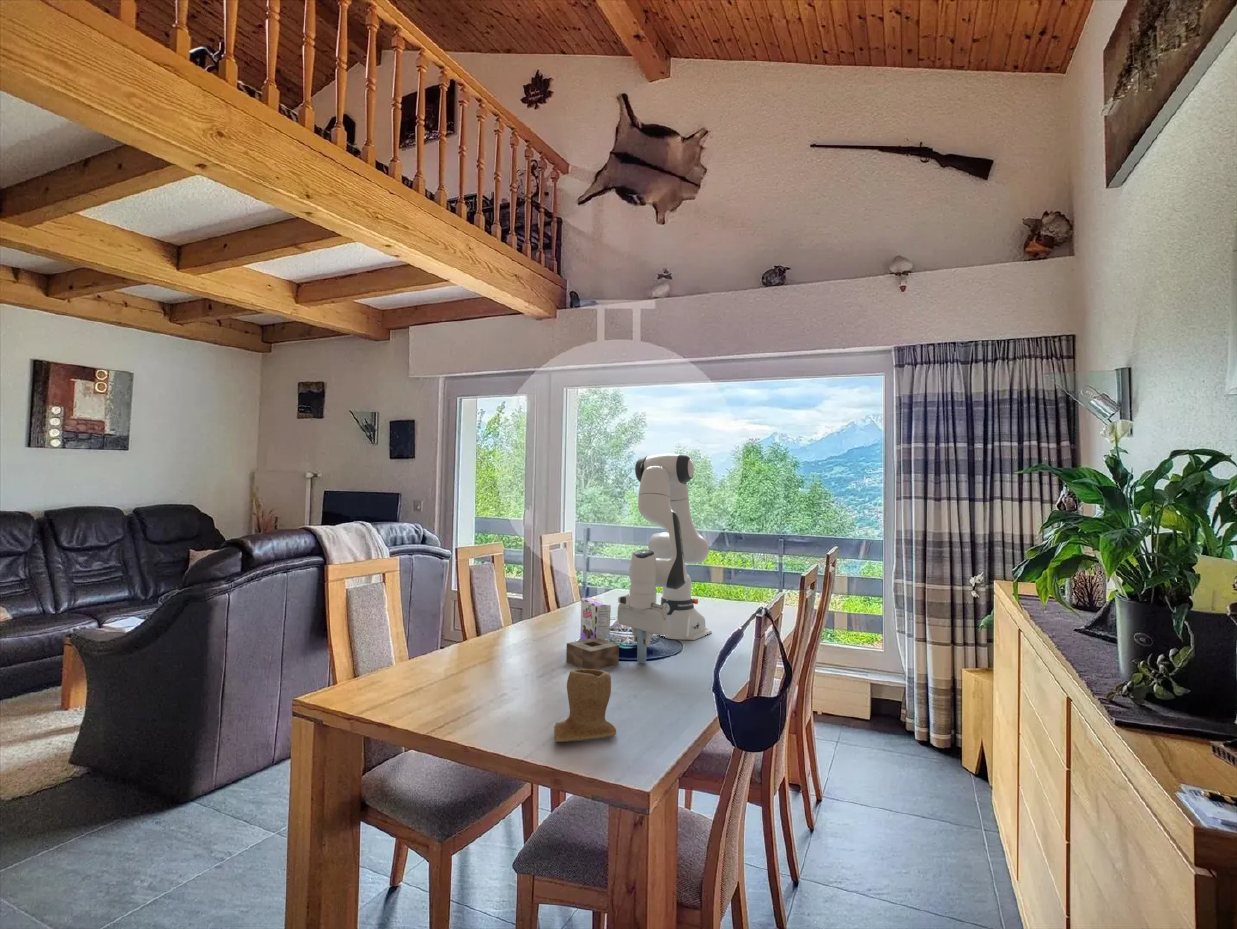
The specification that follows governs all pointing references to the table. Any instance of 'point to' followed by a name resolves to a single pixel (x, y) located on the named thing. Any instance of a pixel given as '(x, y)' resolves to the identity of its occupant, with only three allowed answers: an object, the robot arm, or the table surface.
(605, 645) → the socket block
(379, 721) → the table surface
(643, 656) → the peg
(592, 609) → the candy box
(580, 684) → the tan suede boot
